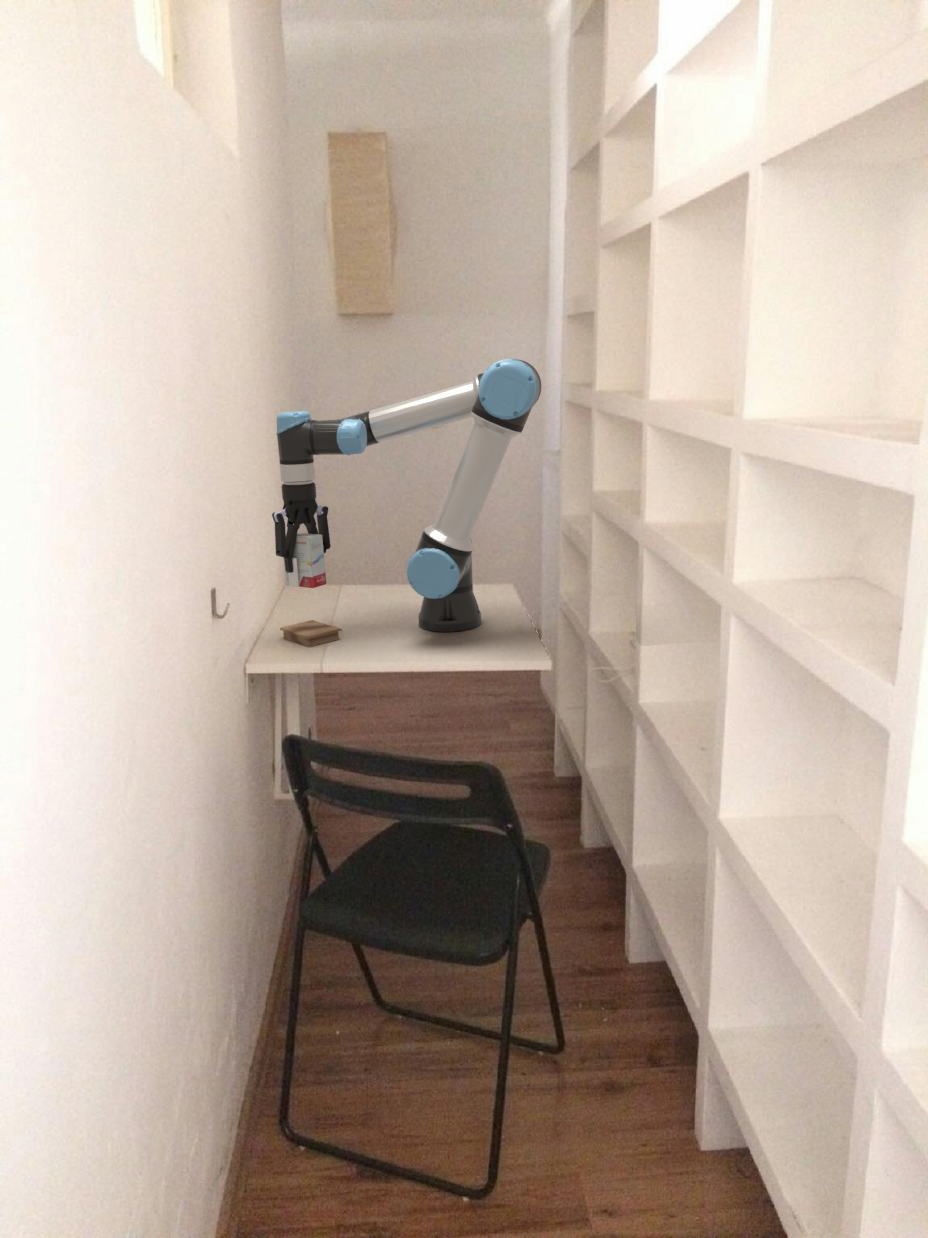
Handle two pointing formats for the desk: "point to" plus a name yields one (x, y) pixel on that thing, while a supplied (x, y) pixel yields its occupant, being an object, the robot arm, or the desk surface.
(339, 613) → the desk surface
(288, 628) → the walnut stand
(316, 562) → the ink box
